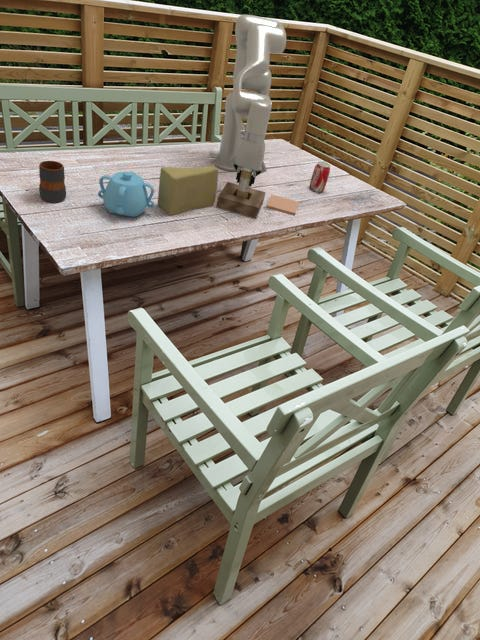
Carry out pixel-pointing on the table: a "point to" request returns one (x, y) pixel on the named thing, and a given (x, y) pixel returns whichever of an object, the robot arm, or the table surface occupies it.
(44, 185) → the mug
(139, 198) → the decorative pot
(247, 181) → the sprinkles bottle
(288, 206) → the terracotta tile
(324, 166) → the soda can
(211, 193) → the cheese
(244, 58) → the robot arm
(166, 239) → the table surface
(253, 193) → the frame
